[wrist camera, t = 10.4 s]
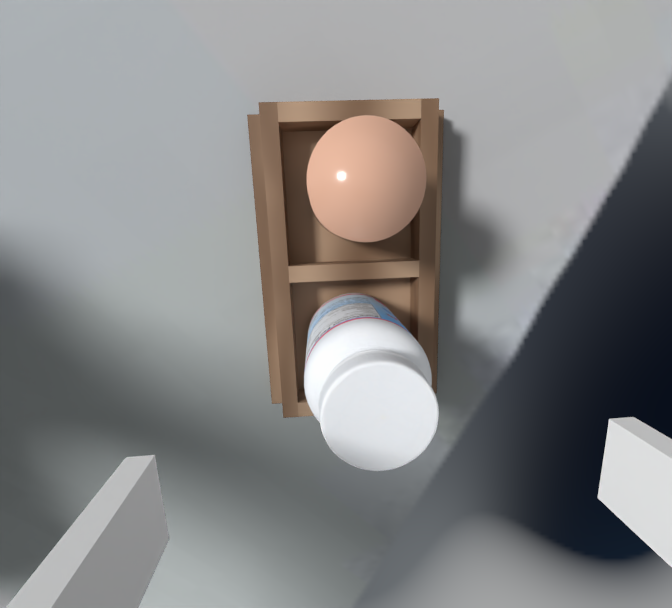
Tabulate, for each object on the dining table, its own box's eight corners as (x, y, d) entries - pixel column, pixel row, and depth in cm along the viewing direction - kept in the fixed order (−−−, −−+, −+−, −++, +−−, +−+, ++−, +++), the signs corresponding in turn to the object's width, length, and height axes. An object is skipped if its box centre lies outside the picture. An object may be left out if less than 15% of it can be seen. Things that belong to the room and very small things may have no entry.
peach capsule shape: (312, 239, 23) (309, 244, 15) (307, 157, 22) (303, 116, 14) (388, 236, 23) (425, 239, 15) (387, 154, 22) (427, 113, 14)
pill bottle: (402, 361, 25) (472, 467, 14) (320, 383, 25) (323, 506, 14) (384, 280, 23) (445, 325, 12) (297, 303, 23) (280, 368, 12)
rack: (273, 397, 26) (268, 418, 23) (250, 119, 22) (240, 103, 19) (431, 387, 26) (446, 407, 23) (438, 115, 22) (456, 97, 19)
